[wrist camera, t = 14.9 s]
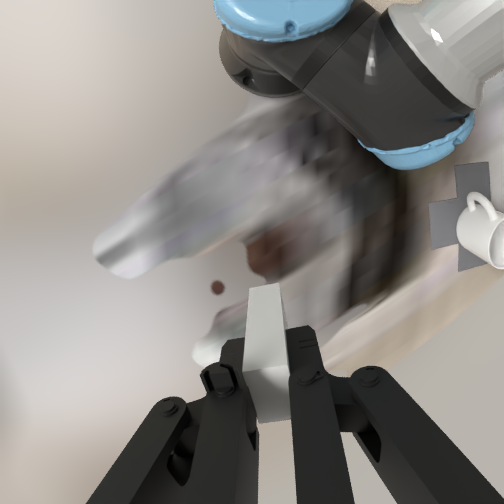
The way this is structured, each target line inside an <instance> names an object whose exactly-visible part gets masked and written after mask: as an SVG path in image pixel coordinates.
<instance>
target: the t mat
mask: <svg viewBox="0 0 504 504" xmlns="http://www.w3.org/2000/svg"><path fill="white" fill-rule="evenodd" d="M455 176H456V187H457V198H455V199H449V200H444V201H438V202H433V203H429V215H430V233H431V250H432V249H437V248H441V247H445V246H449V245H453V244H457V243H459V261H458V272H460V271H463V270H467V269H470V268H474V267H477V266H480V265H484V264H487V262H486V261H484V260H483V259H481V258H480V257H478V256H477V255H475V254H473V253H472V252H470V251H469V250H467V249H465V248H464V247H463V246H462V245H461V244H460V242H459V240H458V237H457V232H456V227H457V222H458V219H459V216H460V215H461V213H462V212H463V210H464V209H465V208H467V207H468V205H467V196H468V194H469V193H471V192H478V193H480V194H482V195H483V196H485V197H486V198H487V199H488V200H489V201H490V202H491V193H490V176H489V163H488V162H480V163H472V164H464V165H456V166H455ZM474 202H475V204H479V205H481V204H480V203H479V202H478V201H476V200H474Z"/></svg>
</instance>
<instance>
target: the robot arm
mask: <svg viewBox="0 0 504 504" xmlns="http://www.w3.org/2000/svg"><path fill="white" fill-rule="evenodd" d="M214 10H215V13H216V15H217V16H218V19H220V20H221V23H222V26H223V31H222V34H221V37H220V42H219V52H220V58H221V61H222V64H223V66H224V68H225V70H226V72H227V73H228V75H229V76H230V77H231V79H232V80H233V81H234V82H235V83H237V84H238V85H239V86H240V87H242V88H243V89H245V90H247V91H249V92H251V93H253V94H256V95H260V96H265V97H285V96H290V95H293V94H296V93H298V92H300V91H303V92H304V93H305V94H306V95H308V96H309V97H310V98H311V99H312V100H314V101H315V102H316V103H317V104H319V105H320V106H321V107H322V108H323V109H324V110H326V111H327V112H328V113H329V114H330V115H331V116H333V117H334V118H335V119H336V120H337V121H338V122H339V123H341V124H342V125H343V126H344V127H345V128H346V129H347V130H348V131H350V132H351V133H352V134H353V135H354V136H355V137H356V138H357V139H358V141H359V143H360V144H361V145H362V146H363V147H364V148H366V149H367V150H369V151H371V152H373V153H374V154H375V155H376V156H377V157H378V158H380V159H381V160H382V161H383V162H384V163H385V164H387V165H388V166H390V167H392V168H395V169H400V170H413V169H418V168H422V167H425V166H428V165H431V164H433V163H435V162H437V161H439V160H441V159H443V158H444V157H446V156H447V155H449V154H450V153H451V152H453V151H454V150H455V148H454V146H455V145H457V144H460V143H463V142H464V141H465V139H466V138H467V137H468V136H469V134H470V132H471V130H472V128H473V126H474V120H475V116H474V112H473V110H475V109H476V108H478V107H479V106H480V105H481V104H482V97H483V86H484V84H485V81H487V80H488V79H490V78H491V77H493V76H494V75H496V74H497V73H499V72H500V71H502V70H504V0H422V1H421V2H420V3H418V4H404V3H393V4H391V5H390V6H389V7H388V8H387V9H386V10H385V11H384V12H383V13H382V14H380V13H379V12H378V11H376V10H375V9H374V8H373V7H371V6H370V5H369V4H368V3H366V2H365V1H364V0H214ZM200 377H201V379H202V382H203V385H204V387H205V389H206V391H207V394H206V396H205V397H203V398H201V399H199V400H196V401H193V402H189V403H186V402H185V401H184V400H183V399H182V398H179V397H168V398H164V399H162V400H160V401H159V402H157V403H156V404H155V405H154V406H153V408H152V409H151V411H150V412H149V414H148V415H147V416H146V418H145V419H144V421H143V422H142V424H141V425H140V427H139V428H138V430H137V431H136V432H135V434H134V435H133V437H132V438H131V440H130V441H129V443H128V444H127V445H126V447H125V448H124V450H123V451H122V453H121V454H120V456H119V457H118V458H117V460H116V461H115V463H114V464H113V465H112V467H111V468H110V470H109V471H108V473H107V474H106V476H105V477H104V479H103V480H102V481H101V483H100V484H99V486H98V487H97V488H96V490H95V491H94V493H93V494H92V496H91V497H90V499H89V500H88V502H87V503H86V504H258V466H259V432H258V428H257V426H256V419H258V422H259V423H268V422H275V421H282V420H289V419H291V424H292V436H293V451H294V465H295V479H296V496H297V504H355V503H354V497H353V493H352V487H351V482H350V477H349V472H348V467H347V462H346V457H345V453H344V448H343V443H342V439H341V434H340V432H352V433H353V436H354V437H355V438H356V440H357V442H358V443H359V445H360V446H361V448H362V450H363V451H364V453H365V454H366V456H367V457H368V459H369V461H370V462H371V463H372V465H373V467H374V468H375V470H376V471H377V473H378V475H379V476H380V478H381V479H382V481H383V482H384V484H385V485H386V487H387V489H388V490H389V492H390V493H391V495H392V496H393V498H394V499H395V501H396V502H397V504H504V498H502V496H501V495H500V494H499V493H498V492H497V491H496V490H495V488H494V487H493V486H492V485H491V484H490V483H489V482H488V481H487V479H486V478H485V477H484V476H483V475H482V474H481V473H480V472H479V471H478V469H477V468H476V467H475V466H474V465H473V464H472V463H471V462H470V461H469V459H468V458H467V457H466V456H465V455H464V454H463V453H462V452H461V451H460V450H459V449H458V447H457V446H456V445H455V444H454V443H453V442H452V441H451V440H450V439H449V438H448V436H447V435H446V434H445V433H444V432H443V431H442V430H441V429H440V428H439V427H438V426H437V424H436V423H435V422H434V421H433V420H432V419H431V418H430V417H429V416H428V415H427V414H426V413H425V411H424V410H423V409H422V408H421V407H420V406H419V405H418V404H417V403H416V402H415V401H414V400H413V399H412V397H411V396H410V395H409V394H408V393H407V392H406V391H405V390H404V389H403V388H402V387H401V386H400V385H399V384H398V382H397V381H396V380H395V379H394V378H393V377H392V376H391V375H390V374H389V373H388V372H387V371H386V370H385V369H383V368H381V367H377V366H366V367H362V368H360V369H358V370H356V371H355V372H354V373H353V374H352V375H351V377H336V376H333V375H331V374H329V373H328V372H327V371H326V370H325V369H324V366H323V362H322V358H321V354H320V350H319V346H318V342H317V338H316V334H315V331H314V330H313V329H312V328H311V327H310V326H309V325H307V326H302V327H296V328H291V329H288V324H287V319H286V314H285V309H284V305H283V300H282V295H281V290H280V285H279V283H275V284H269V285H264V286H259V287H254V288H250V291H249V302H248V313H247V324H246V335H245V337H244V338H237V339H231V340H227V342H226V343H225V344H224V346H223V347H222V350H221V356H220V361H219V362H216V363H213V364H211V365H209V366H207V367H206V368H205V369H203V370H202V373H201V374H200Z"/></svg>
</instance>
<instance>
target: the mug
mask: <svg viewBox="0 0 504 504" xmlns="http://www.w3.org/2000/svg"><path fill="white" fill-rule="evenodd" d="M474 200H476V201H478V202H479V203H480V204H481V205H479V204H475V202H474ZM467 205H468V207H467V208H465V209H464V210H463V212H462V213H461V215H460V216H459V219H458V222H457V227H456V232H457V237H458V240H459V242H460V244H461V245H462V246H463V247H464V248H465V249H467V250H469V251H470V252H472V253H473V254H475V255H477V256H478V257H480V258H481V259H483V260H484V261H486V262H487V263H489V264H490V265H492V266H493V267H495V268H497V269H504V213H501V212H499V211H496V210H495V208H494V207H493V205H492V204H491V202H490V201H489V200H488V199H487V198H486V197H485V196H483V195H482V194H480V193H478V192H471V193H469V194H468V196H467Z"/></svg>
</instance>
